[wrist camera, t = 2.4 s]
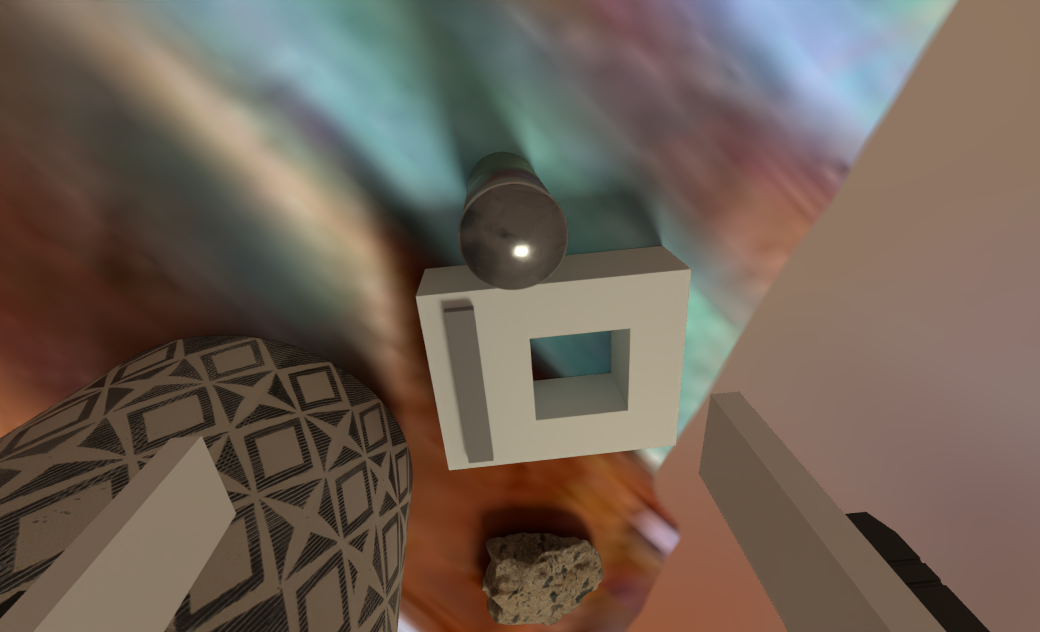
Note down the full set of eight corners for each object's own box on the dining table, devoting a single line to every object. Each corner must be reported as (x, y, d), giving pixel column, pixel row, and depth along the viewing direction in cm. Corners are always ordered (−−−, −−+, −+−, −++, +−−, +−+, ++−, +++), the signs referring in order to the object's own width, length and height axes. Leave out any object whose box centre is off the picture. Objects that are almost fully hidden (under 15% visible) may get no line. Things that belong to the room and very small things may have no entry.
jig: (425, 268, 32) (414, 300, 27) (662, 245, 33) (695, 272, 28) (453, 426, 38) (448, 476, 33) (653, 404, 39) (678, 450, 34)
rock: (589, 592, 49) (598, 636, 46) (481, 595, 48) (480, 639, 44) (605, 520, 45) (616, 561, 41) (484, 521, 44) (484, 563, 40)
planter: (222, 226, 30) (-283, 471, 10) (494, 444, 39) (505, 791, 20) (30, 448, 36) (-512, 865, 17) (305, 590, 46) (168, 965, 26)
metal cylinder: (463, 154, 29) (450, 188, 18) (536, 148, 29) (566, 177, 19) (472, 227, 31) (466, 295, 20) (540, 220, 31) (570, 284, 21)
